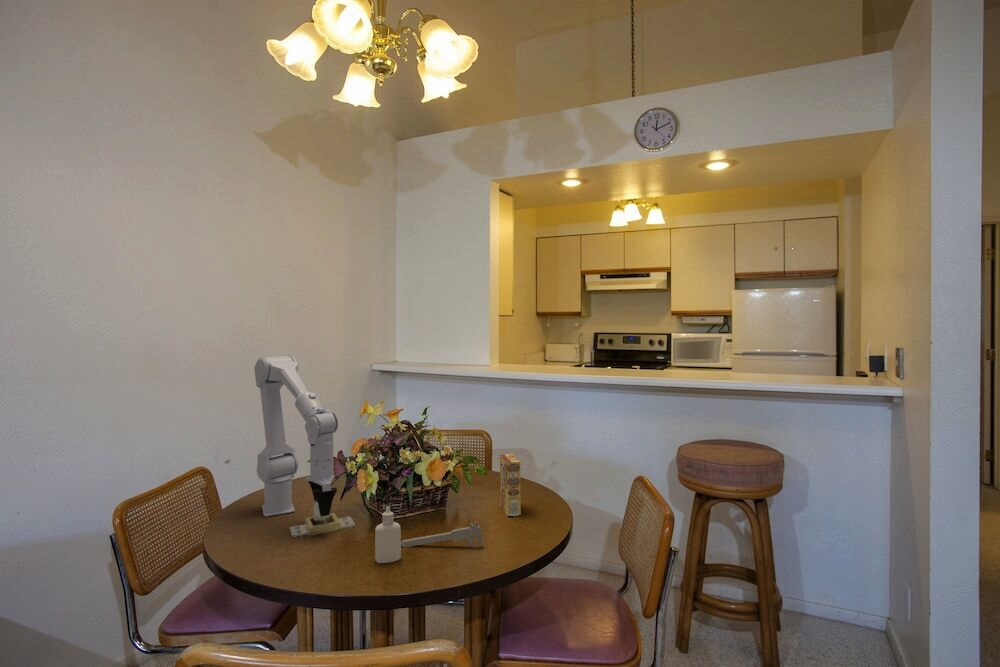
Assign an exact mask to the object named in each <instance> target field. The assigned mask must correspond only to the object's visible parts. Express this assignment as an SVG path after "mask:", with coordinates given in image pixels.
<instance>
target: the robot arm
mask: <svg viewBox="0 0 1000 667" xmlns="http://www.w3.org/2000/svg"><path fill="white" fill-rule="evenodd" d="M254 378H255V383H256V384H255V385H256V387H257V388H259V389H260V390H259V391H260V392H259V393H260V399H261V406H262V407H261V409H262V411H261V412H262V418H263V428H264V436H265V445H266V446H265V448H263V450H262V451H261V452H260V453H259V454H258V455H257V465H256V473H257V477H258V478H259V480H260V481H261V482H263V483H264V484H263V485H264V486H263V487H264V488H263V492H264V498H263V499H264V501H263V502H264V504H261V510H262V514H263V517H264V516H265V517H271V516H278V515H285V514H289V513H290V514H291V513H295V512H296V511H295V510H296V509H295V508H294V505H293V501H292V500H293V497H292V496H293V494H292V490H293V489H292V488H293V484H292V483H293V482H292V479H293V478H295V474H297V472H298V469H299V460H298V457H297V455H296V451H295V448H294V447H292V445H291V446H290V445H288V444H287V442H286V441H287V440H286V434H285V423H284V415H283V408H282V406H283V405H282V398H281V389H282V387H283V386H285V387H286V389H288V390H289V392H290V393H291V395H292V396H293V397H294V398H295V402H294V406H295V408H296V409H297V410H298V412H299V413H300V415H301V417H302V419H303V420H304V421H305V424H304V428H305V432H306V434H307V441H308V443H309V446H310V447H309V448H310V449H309V453H310V454H309V456H310V457H309V459H310V460H311V461H310V460H309V461H310V462H309V463H310V466H309V468H310V473H309V474H310V476H306V477H305V482H308V484H309V486H310V488H311V492H312V496H313V500H314V501H315V500H317V501H318V507H319V512H320V516H321V517H322V516H328V515H329V514H331V509H332V504H333V500H334V497H335V495H336V493H337V491H338V488H337V487H332V482H333V481H334V480H335V474H334V434H335V433H336V431H338V426H339V420H338V416H336V413H335V412H334V411H332V410H329V409H328V408H325V407H324V405H323V404H322V402H321V401H320V399H319V398H318V397H317V395H316V394H315V392H314V391H313V392H312V391H308V388H307V386H306V385H305V384H304V382H303V379H302V378H301V376H300V375H299V363H298V362H297V360H296V358H295V357H294V356H293V355H289V354H288V355H284V356H283V355H281V356H268V357H267V356H266V357H265V356H260V357H259V358H257V361H256V363H255V365H254ZM324 467H325V468H324ZM314 501H313V502H314Z"/></svg>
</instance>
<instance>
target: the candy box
mask: <svg viewBox="0 0 1000 667" xmlns="http://www.w3.org/2000/svg"><path fill="white" fill-rule="evenodd" d="M499 481H500V482H499V484H500V485H499V487H500V488H499V489H500V492H499V494H500V507H502V508H501V509H502V511H503V512H504V513H505V516H506V515H507V516H506V517H507V518H509V517H508V516H513V517H520V516H519V515H522V508H521V504H522V503H521V501H522V500H521V499H522V498H521V484H522V483H521V461H520V459H519V458H517V457H516V455H514V454H513V453H510V454H509V453H508V454H506V453H505V454H500V455H499Z"/></svg>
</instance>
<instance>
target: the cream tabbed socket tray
mask: <svg viewBox="0 0 1000 667" xmlns="http://www.w3.org/2000/svg"><path fill="white" fill-rule="evenodd" d="M304 523H305V524H300V525H294V526H290V527H289V532H290V535H291V537H294V538H298V537H297V536H300V537H303V535H305V536H309V537H310V536H311V537H312V536H315V535H316V534H317V535H321V533H322V534H327V533H332V532H338V531H341V530H342V529H349V528H352V527H353V526H354V527H356V522H354V520H353V518H352V517H351V516H344V517H340V518H338V516H337V514H336V513H334V512H332V513H330V523H326V524H321V525H315V526H314V516H310V517H305V521H304Z"/></svg>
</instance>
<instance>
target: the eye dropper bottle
mask: <svg viewBox="0 0 1000 667" xmlns="http://www.w3.org/2000/svg"><path fill="white" fill-rule="evenodd" d="M374 532H375V533H374V534H375V535H374V550H375V551H374V554H375V556H374V557H375V562H376V563H377V564H389V563H394V562H397V561H399V560H401V557H402V546H401V543H402V541H401V540H402V529H401V525H400V524H399V523H398V522H396V521H394V512H393V511H391V509H390V506H386V507H385V511H384V512H382V522H381V523H380V524H378V525H376V527H375V529H374Z"/></svg>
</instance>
